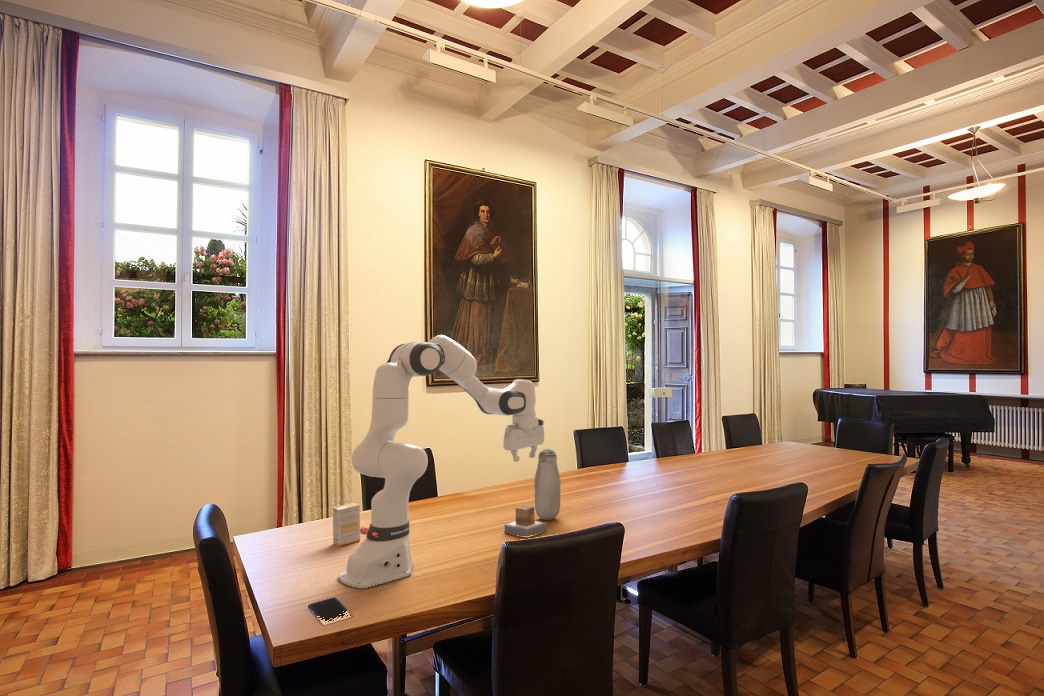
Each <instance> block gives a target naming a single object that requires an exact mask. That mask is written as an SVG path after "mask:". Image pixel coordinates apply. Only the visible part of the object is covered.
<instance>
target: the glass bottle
mask: <svg viewBox="0 0 1044 696" xmlns="http://www.w3.org/2000/svg"><path fill="white" fill-rule="evenodd" d="M537 459H538V460H537V466H536V467H537V468H536V470H535V475H534V511H535V513H536V516H537V517H538V518H540V519H541V520H545V521H551V520H554V519H555V518H556V517H558V515H559V514H560V510H561V477H560V471H559V469H558V462H557V461H558V460H557V459H558V457H557V453H556V451H555V450H554V449H551V448H546V449H545V448H544V449H542V450H541V451H539V453H538V458H537Z"/></svg>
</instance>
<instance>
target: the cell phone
mask: <svg viewBox="0 0 1044 696" xmlns="http://www.w3.org/2000/svg"><path fill="white" fill-rule="evenodd" d="M307 606H308V609H309V608H310V609H311V610H312V611H313V612H314V614H315V615H316V616H320V617H318V618H322V619H321V620H323V619H325V621H327V620H329V619H330V618H332V619H334V618H336V617H337V616H338V617H340V616H342V617H341V618H343V616H344V615H345V614H343V613H345V612H346V611H347V610H348V609H347V608H346V606H345V605H344V604H343V603H342V602H341V601H340V600H339V599H338V598H337V597H334V596H333V597H330V598H326V599H323V600H319V601H315V602H312V603H309V604H308V605H307ZM310 609H309V610H310ZM311 610H310V611H311ZM312 611H311V612H312ZM343 611H344V612H343ZM313 612H312V613H313ZM314 614H313V615H314ZM339 614H341V615H339ZM346 614H347V613H346ZM315 615H314V616H315ZM316 616H315V617H316ZM347 616H348V615H347ZM347 616H346V617H347ZM350 616H351V615H350ZM323 617H324V618H323ZM338 617H337V618H338ZM337 618H336V619H337ZM332 619H330V620H329V621H332ZM336 619H334V620H336ZM334 620H333V621H334ZM329 621H328V622H329Z"/></svg>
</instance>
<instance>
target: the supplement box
mask: <svg viewBox="0 0 1044 696" xmlns="http://www.w3.org/2000/svg"><path fill="white" fill-rule="evenodd" d="M360 506H361V505H360V504H358V503H356V502H352V503H346V504H343V505H337V506H332V537H333V538H332V540H333V541H332V544H333V543H334V544H333V545H335V544H336V545H335V546H337V545H338V546H337V547H339V546H340V547H342V546H341V545H344V546H346V545H345V544H347V545H350V544H349V543H351V544H354V543H357V541H358V542H360V541H361V533H360V528H361V516H360V515H361V510H360V509H361V508H360ZM353 542H354V543H353Z"/></svg>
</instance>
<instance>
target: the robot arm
mask: <svg viewBox="0 0 1044 696" xmlns="http://www.w3.org/2000/svg"><path fill="white" fill-rule="evenodd" d="M477 369H478V362H477V360H476V358H475V357H474V356H473V354H471V352H470V351H469V350H467V349H466V348H465V347H463V346H462V345H461V344H459V343H458V342H457V341H456V340H453V339H452V338H450V337H448V336H446V335H443V334H439V335H436V336H434V337H432V338H431V339H430V340H429V341H423V342H418V341H417V342H416V341H413V342H412V341H411V342H407V343H401V344H399V345H397V346H396V347H394V348H393V349H392V351H391V352H390V355H389V357H388V359H387V361H386V362H385V363H382V364H380V365H379V366H377V368H376V370H375V374H374V379H373V386H372V400H371V402H372V404H371V420H370V425H369V429H368V431H367V433H366V436H365V437H364V438H363V440H362V441H361V442H359V444H358V445H357V446H355V448H354V450H353V451H352V455H351V464H352V468H353V470H354V471H355V472H356V473H359V474H361V475H365V476H367V477H371V478H373V477H375V478H383V479H384V486H383V489H381V490H380V491H378V492H376V493H375V495H374V496H373V497H372V499H371V502H370V503H371V506H370V507H371V508H370V509H371V511H370V512H371V514H370V515H371V518H370V520H371V522H370V524H369V527H365V526H360V535H361V534H362V535H366V536H365V538H364V540H363V541H362V542H361V543H360V544H358V546H357V547H356V548H355V549H354V550H353V552H351V553H350V554H349V557H348V559H347V563H346V570H344V571H341V572H340V573H339V574H338V580H339V581H340V582H341V583H342V584H344V585H346V586H348V585H349V586H348V587H351V586H352V587H351V588H355V587H356V589H368V587H369V588H372V587H375V585H376V586H378V584H379V585H382V584H385V583H389V582H391V581H392V580H393V581H395V580H399V579H402V578H406V577H409V576H411V575H412V570H413V569H414V562H413V559H412V554H411V548H410V541H409V535H410V520H409V499H410V493H411V490H412V488H413V486H414V484H415V483H416V481H417V480H418V479H420V478H421V477H422V476H423V475H424V474H425V472H426V471H427V467H428V464H429V462H428V461H429V458H428V454H427V452H426V450H425V449H424V448H423V447H422V446H419V445H416V444H412V443H407V442H395V436H396V434H397V432H398V431H399V430H400V429H402V428H404V427H406V425H407V423H408V421H409V386H410V383H411V380H412V378H413V377H414V378H415V377H416V378H417V377H428V376H430V375H434V374H435V373H436V372H437V371H438V370H439V371H441V372H442V373H443V375H445V376H447V377H448V378H450V379H451V380H452V381H453V382H455V383H456V384H457V385H458V386H459V387H460V388H461V389H463V390H464V391H465V393H467V394H468V395H469V396H470V397H471V398H472V399H473V400H474V401H475V402H476V405H477V406H478V408H479V410H480V411H481V412H482V413H483V414H486V415H498V416H512V417H511V419H512V420H511V421H512V422H511V424H508V425H507V426H506V428H505V429H504V434H503V449H504V450H505V451H510V453H511V456H512V460H513V462H515V463H517V462H520V456H518V450H521V449H525V448H531V449H530V452H529V454H528V455H529V457H528V458H530V459H533V458H535V457H536V453H537V450H538V446H541V445H543V444H544V443H545V428H544V426H545V420H544V419H542V418H539V417H537V416H536V411H535V410H536V409H535V407H536V388H535V385H534V382H532V381H531V380H527V379H521V378H518V379H517V378H516V379H514V380H513V381H512V383H510V384H509V385H507V386H505V387H504V388H494V387H489V386H487V385H486V384H484V383H483V382H482V381H480V380H479V378H477V377H476V375H475V374H476V373H477ZM393 581H392V582H393ZM371 586H372V587H371Z"/></svg>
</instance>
